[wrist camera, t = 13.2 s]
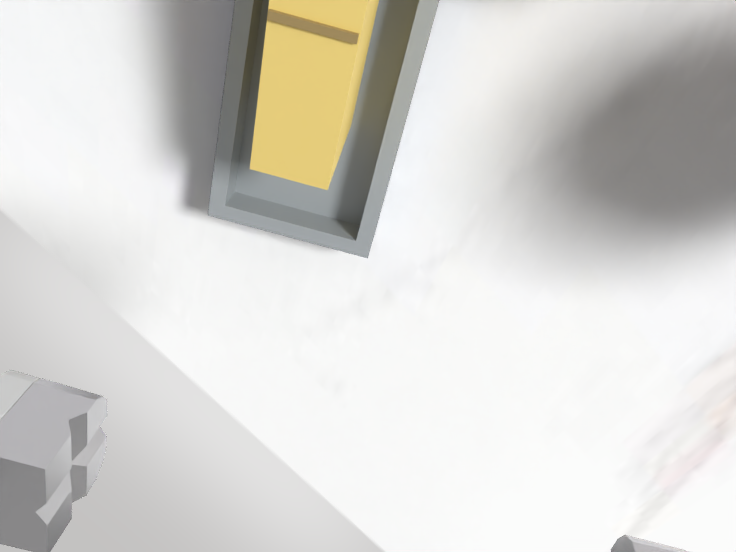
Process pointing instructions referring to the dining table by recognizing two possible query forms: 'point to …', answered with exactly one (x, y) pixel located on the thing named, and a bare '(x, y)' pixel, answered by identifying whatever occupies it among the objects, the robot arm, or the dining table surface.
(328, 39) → the yellow rectangular block
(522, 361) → the dining table surface
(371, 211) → the tray
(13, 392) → the robot arm
